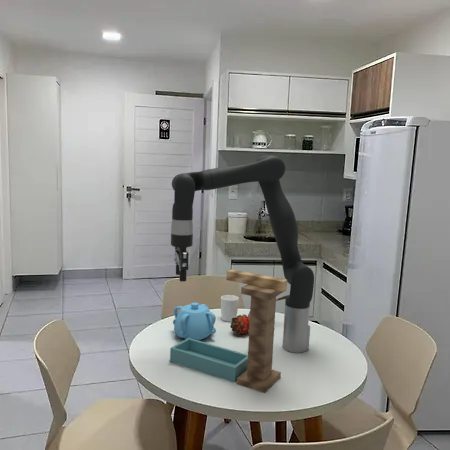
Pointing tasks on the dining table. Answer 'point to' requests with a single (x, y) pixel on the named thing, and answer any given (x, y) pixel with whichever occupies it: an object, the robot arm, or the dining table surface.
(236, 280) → the bar
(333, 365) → the dining table surface
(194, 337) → the decorative pot
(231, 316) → the white cup
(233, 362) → the tray
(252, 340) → the stand
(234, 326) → the dragon fruit
